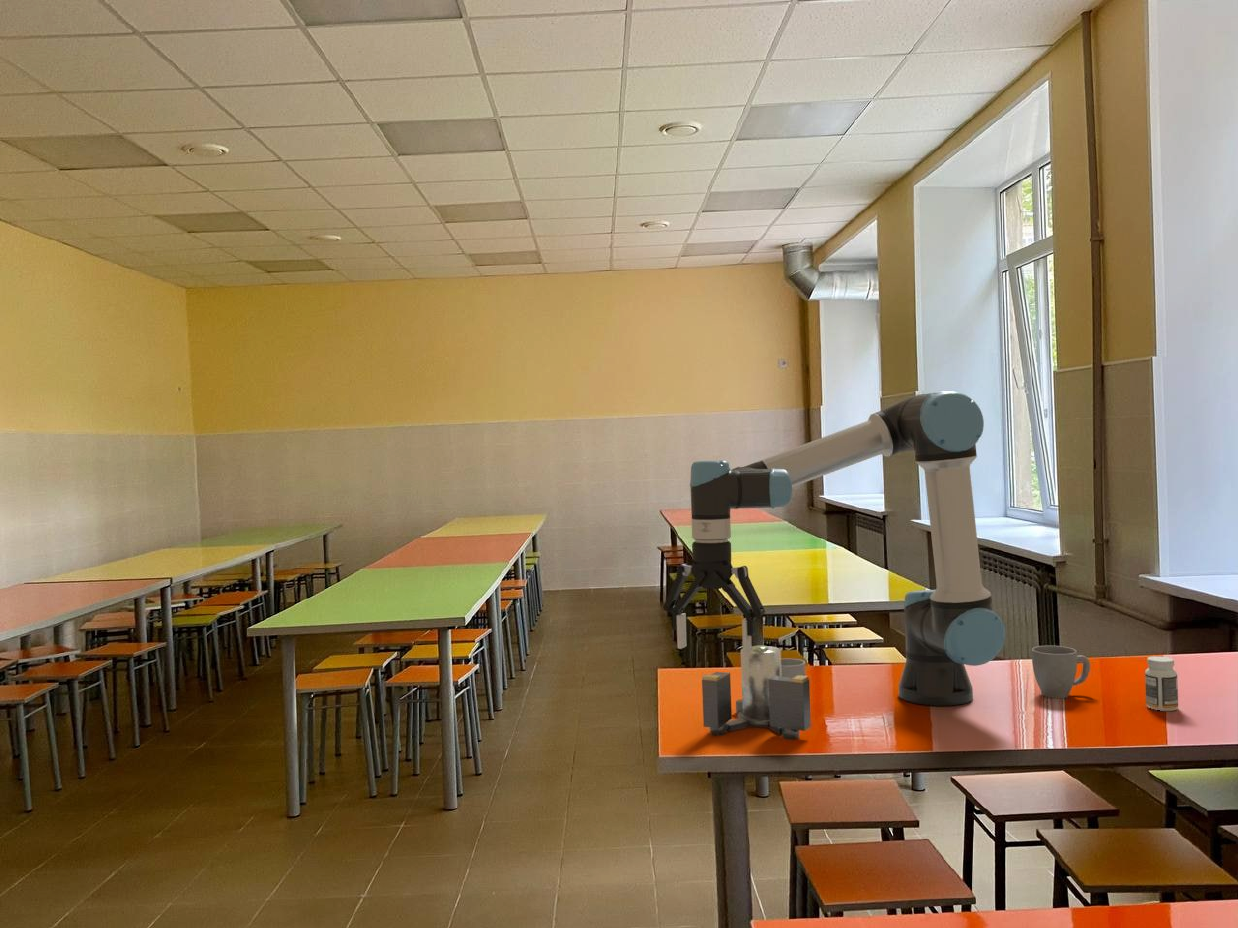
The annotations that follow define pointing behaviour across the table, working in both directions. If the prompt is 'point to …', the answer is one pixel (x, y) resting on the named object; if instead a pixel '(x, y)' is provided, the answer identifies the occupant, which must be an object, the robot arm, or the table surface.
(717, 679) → the tan-tipped grey block
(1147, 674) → the pill bottle
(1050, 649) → the mug
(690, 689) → the table surface
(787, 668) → the cup
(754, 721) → the stand
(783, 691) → the grey rectangular block
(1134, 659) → the table surface
